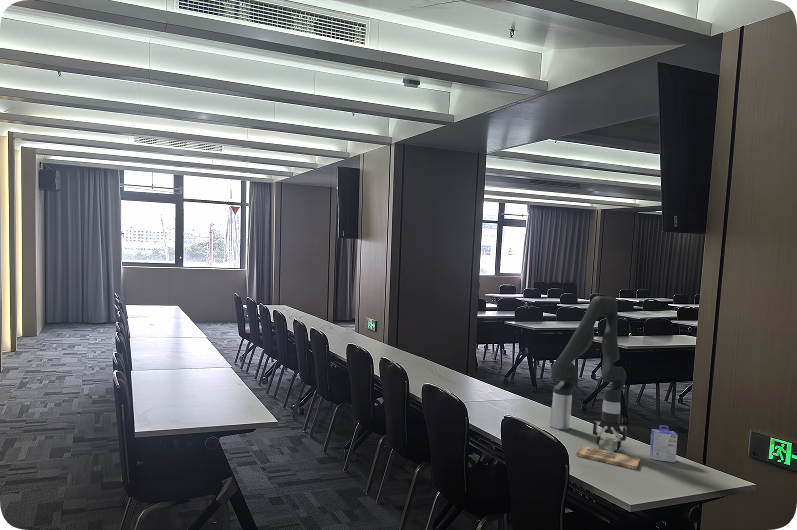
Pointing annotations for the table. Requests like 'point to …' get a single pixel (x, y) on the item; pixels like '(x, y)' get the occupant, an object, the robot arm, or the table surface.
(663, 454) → the ink cartridge box
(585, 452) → the tan wooden board
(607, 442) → the block
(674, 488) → the table surface
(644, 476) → the table surface
